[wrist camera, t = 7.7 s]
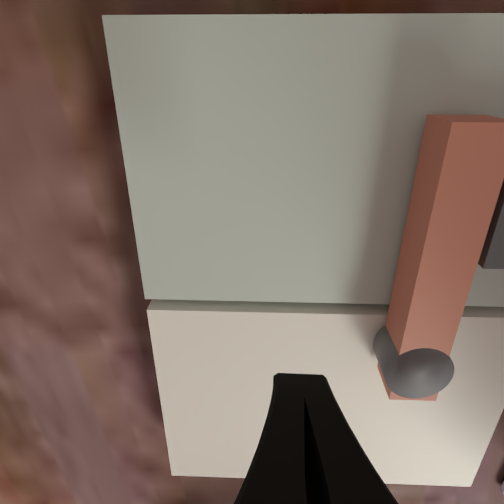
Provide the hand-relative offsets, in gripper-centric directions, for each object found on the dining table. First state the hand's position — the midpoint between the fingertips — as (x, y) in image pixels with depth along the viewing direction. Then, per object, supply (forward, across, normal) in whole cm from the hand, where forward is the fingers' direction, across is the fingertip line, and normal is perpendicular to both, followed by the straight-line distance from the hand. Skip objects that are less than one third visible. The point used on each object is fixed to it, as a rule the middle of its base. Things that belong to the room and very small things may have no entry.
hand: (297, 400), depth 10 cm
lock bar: (+6, -5, -1) cm, 9 cm away
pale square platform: (+9, -2, +2) cm, 10 cm away
